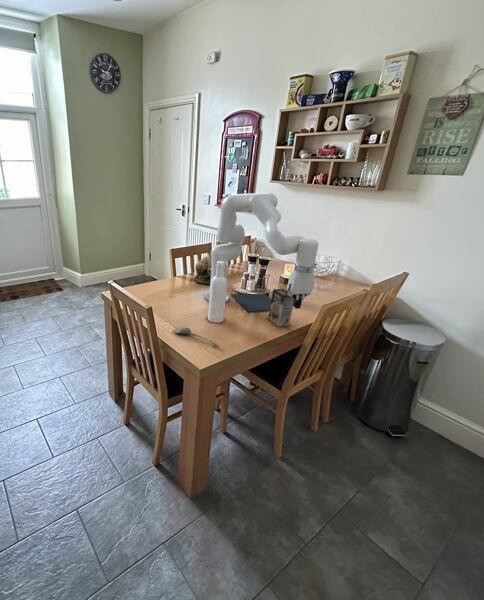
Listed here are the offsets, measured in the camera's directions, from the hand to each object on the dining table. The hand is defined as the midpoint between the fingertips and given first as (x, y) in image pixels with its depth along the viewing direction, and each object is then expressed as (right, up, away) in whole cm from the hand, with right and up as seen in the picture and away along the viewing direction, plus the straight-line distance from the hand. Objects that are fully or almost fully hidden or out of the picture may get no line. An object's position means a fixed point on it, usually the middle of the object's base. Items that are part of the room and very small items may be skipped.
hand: (296, 307), depth 147 cm
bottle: (-33, -7, +18) cm, 38 cm away
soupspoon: (-45, -14, 0) cm, 48 cm away
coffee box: (-2, -8, +16) cm, 18 cm away
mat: (-7, +2, +38) cm, 39 cm away
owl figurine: (-32, +15, +69) cm, 77 cm away
